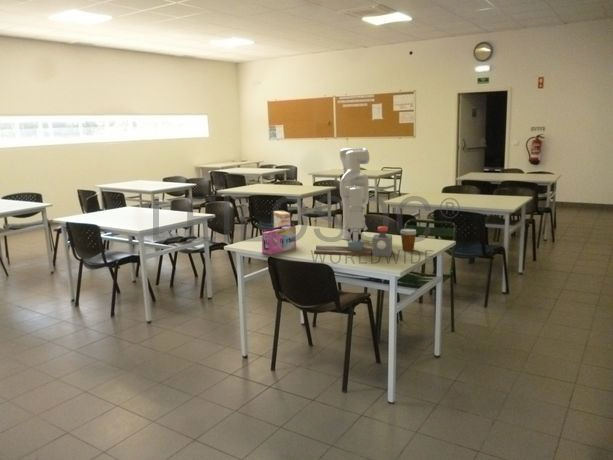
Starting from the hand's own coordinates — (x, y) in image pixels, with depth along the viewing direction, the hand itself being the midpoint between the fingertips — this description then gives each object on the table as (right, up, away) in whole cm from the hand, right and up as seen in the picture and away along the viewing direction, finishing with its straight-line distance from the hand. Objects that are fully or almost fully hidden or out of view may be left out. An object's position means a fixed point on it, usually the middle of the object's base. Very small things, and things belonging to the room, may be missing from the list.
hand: (355, 240), depth 297 cm
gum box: (-45, -7, +12) cm, 47 cm away
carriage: (0, -6, +1) cm, 6 cm away
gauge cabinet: (+15, -8, -2) cm, 17 cm away
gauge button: (+15, -1, -3) cm, 15 cm away
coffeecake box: (-44, -2, +37) cm, 58 cm away
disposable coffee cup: (+31, -6, +6) cm, 33 cm away
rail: (-7, -7, +3) cm, 10 cm away
